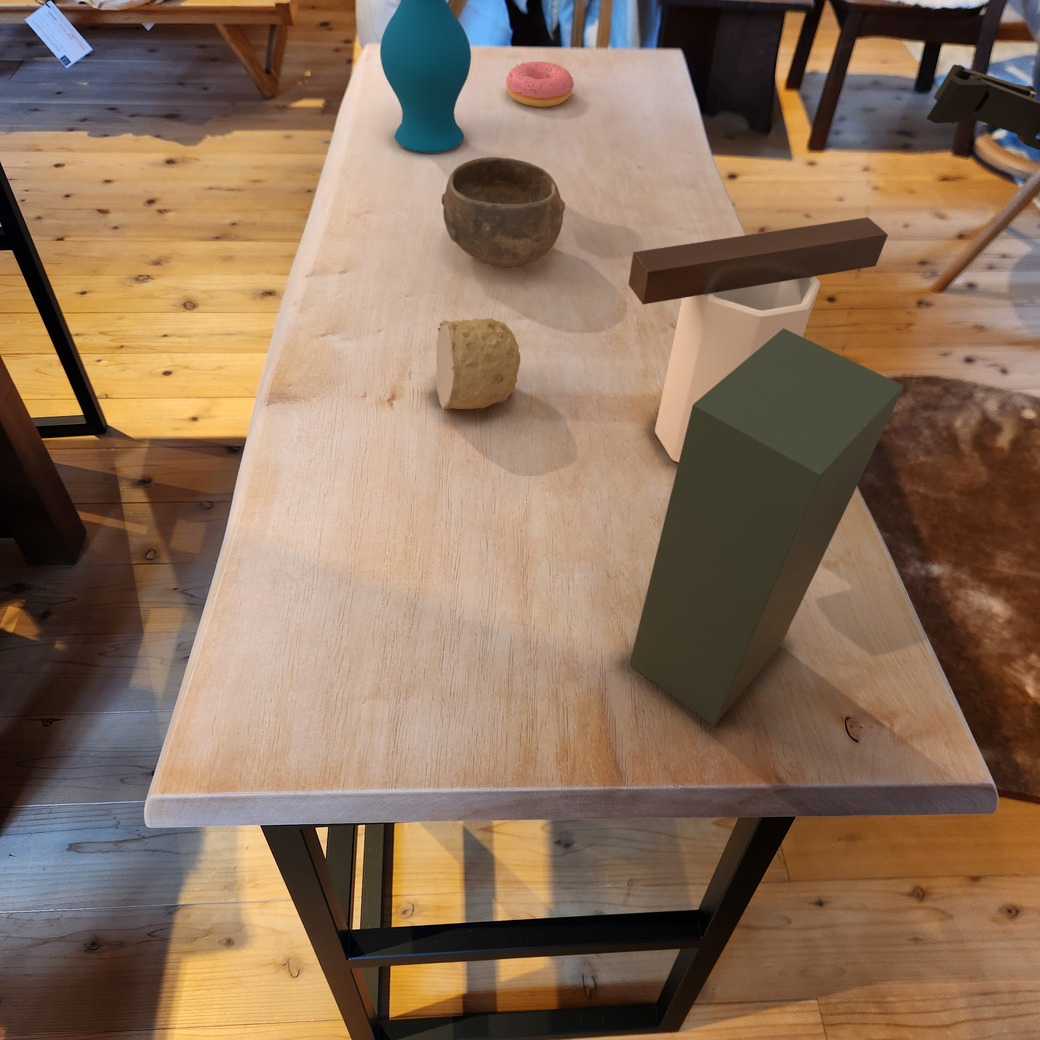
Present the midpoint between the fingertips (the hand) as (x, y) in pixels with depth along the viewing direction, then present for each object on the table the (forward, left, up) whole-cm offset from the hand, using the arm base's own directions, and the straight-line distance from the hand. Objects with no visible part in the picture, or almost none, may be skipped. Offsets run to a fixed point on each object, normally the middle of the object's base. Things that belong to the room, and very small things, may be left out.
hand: (1028, 149), depth 57 cm
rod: (+15, +4, -14) cm, 21 cm away
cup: (+15, +4, -33) cm, 36 cm away
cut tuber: (+36, +16, -33) cm, 51 cm away
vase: (+82, -22, -33) cm, 91 cm away
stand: (+1, +26, -33) cm, 42 cm away
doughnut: (+81, -46, -33) cm, 98 cm away
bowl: (+53, -6, -33) cm, 62 cm away
